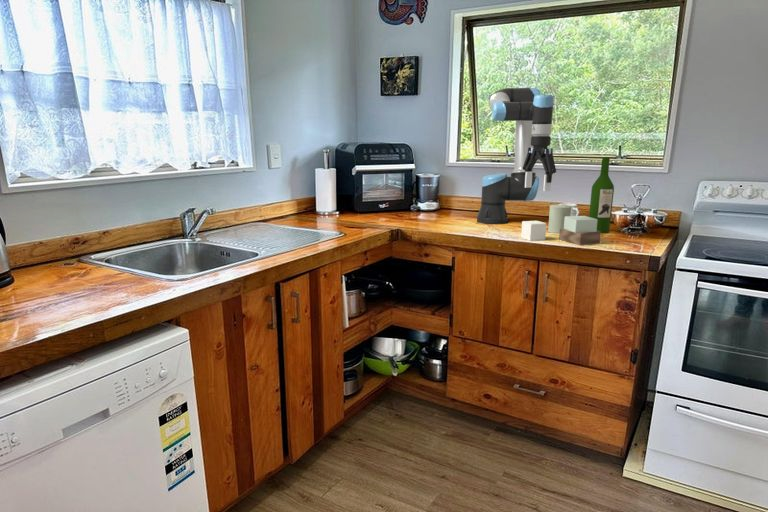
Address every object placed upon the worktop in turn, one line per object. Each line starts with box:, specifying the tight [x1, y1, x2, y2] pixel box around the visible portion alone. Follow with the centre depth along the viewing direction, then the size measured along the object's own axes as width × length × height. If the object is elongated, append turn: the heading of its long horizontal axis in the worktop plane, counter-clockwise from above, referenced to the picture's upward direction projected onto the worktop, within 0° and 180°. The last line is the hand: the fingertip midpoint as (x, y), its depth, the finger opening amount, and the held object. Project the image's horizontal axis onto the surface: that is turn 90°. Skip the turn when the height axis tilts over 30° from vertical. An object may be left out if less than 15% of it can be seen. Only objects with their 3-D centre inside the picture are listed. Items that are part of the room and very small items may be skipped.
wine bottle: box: [588, 156, 615, 235], centre depth 215 cm, size 9×9×32 cm
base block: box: [558, 229, 602, 246], centre depth 200 cm, size 11×11×5 cm
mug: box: [558, 202, 580, 216], centre depth 233 cm, size 8×12×10 cm
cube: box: [520, 220, 547, 242], centre depth 205 cm, size 7×7×7 cm
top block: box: [564, 215, 598, 233], centre depth 198 cm, size 9×9×5 cm
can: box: [547, 204, 571, 234], centre depth 218 cm, size 9×9×12 cm
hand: (537, 189), depth 201 cm, fingers open, 13 cm apart
